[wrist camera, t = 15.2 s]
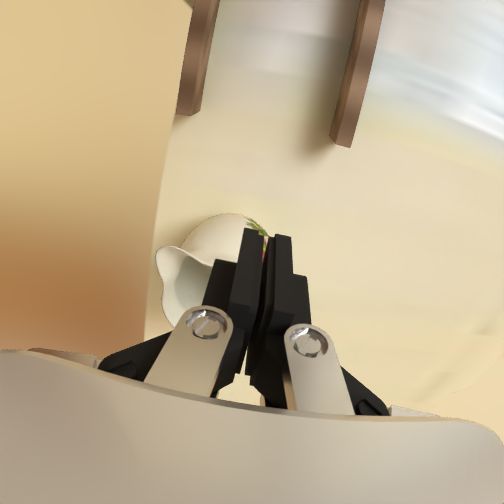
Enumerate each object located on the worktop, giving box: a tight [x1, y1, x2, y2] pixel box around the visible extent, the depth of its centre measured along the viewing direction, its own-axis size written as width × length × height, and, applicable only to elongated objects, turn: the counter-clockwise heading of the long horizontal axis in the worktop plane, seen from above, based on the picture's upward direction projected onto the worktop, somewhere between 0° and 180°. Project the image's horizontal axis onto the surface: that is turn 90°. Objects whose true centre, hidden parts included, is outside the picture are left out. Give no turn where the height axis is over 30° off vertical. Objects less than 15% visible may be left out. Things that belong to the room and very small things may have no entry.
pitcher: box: [155, 213, 269, 328], centre depth 35 cm, size 11×18×14 cm, turn 30°
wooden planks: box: [176, 0, 385, 148], centre depth 26 cm, size 18×17×4 cm
